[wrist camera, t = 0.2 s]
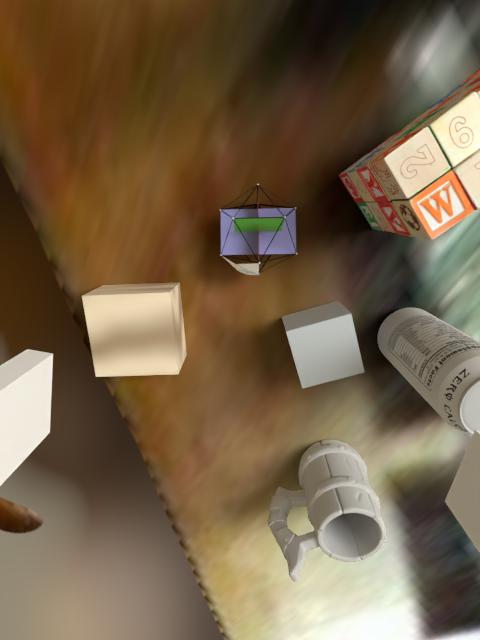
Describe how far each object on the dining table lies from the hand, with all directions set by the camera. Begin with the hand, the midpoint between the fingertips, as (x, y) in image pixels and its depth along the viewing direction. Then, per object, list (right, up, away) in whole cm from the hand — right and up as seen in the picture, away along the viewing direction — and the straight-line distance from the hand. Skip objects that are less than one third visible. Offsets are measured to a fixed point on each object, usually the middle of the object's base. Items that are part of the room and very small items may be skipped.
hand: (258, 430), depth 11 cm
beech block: (-10, +3, +27) cm, 29 cm away
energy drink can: (+17, +2, +27) cm, 31 cm away
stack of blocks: (+19, +21, +21) cm, 35 cm away
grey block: (+8, +2, +27) cm, 28 cm away
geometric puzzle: (+1, +12, +24) cm, 27 cm away
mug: (+8, -14, +32) cm, 36 cm away
